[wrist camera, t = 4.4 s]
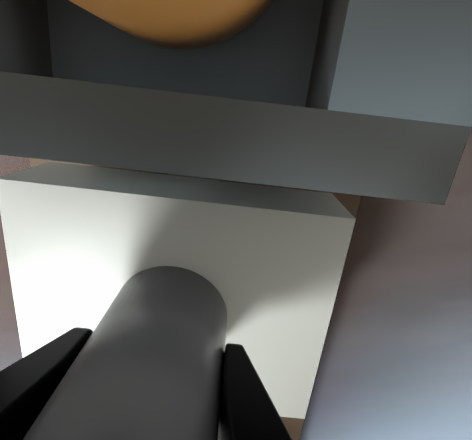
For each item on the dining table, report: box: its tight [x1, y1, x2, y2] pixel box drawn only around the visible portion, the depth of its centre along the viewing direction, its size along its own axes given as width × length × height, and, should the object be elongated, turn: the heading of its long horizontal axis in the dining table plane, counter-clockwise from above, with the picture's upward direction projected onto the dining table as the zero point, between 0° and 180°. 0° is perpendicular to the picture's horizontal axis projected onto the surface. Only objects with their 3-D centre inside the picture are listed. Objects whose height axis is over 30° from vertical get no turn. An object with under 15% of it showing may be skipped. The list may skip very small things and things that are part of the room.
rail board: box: [0, 0, 472, 440], centre depth 11 cm, size 30×12×8 cm, turn 174°
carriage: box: [0, 161, 356, 440], centre depth 8 cm, size 7×9×7 cm
